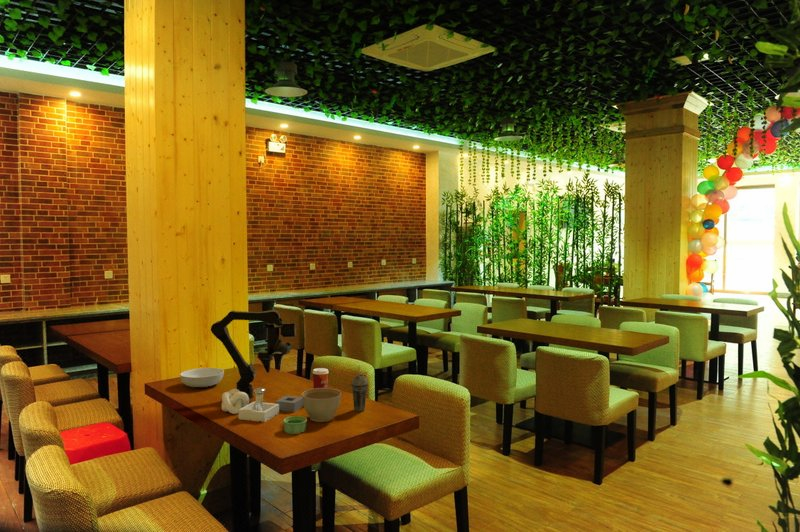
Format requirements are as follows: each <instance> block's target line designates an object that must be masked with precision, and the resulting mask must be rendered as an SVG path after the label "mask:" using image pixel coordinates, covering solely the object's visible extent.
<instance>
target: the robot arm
mask: <svg viewBox="0 0 800 532" xmlns="http://www.w3.org/2000/svg"><path fill="white" fill-rule="evenodd" d="M233 321H257V322H258V321H259V322H263V323H265V324H264V325H263V326H262V328H263V329H266V339H264V342H265V343H266V348H264V350H262V351H259V352H258V353H257V359H258V360H259V361H260V362H261V364H262V366H263V367H264V369H265V371H266V373H268V374H269V373H270V371H271V370H270V369H271V362H272V361H273V360H274V364H275V368H276V369H279V368H280V366H281V362H282V359H283V357H284V356H285V355H287V354H290V352H291V350H293V347H292V342H290V341H287V342H286V343H285V342H282V339H281V338H280V335H281V336H282V338H296V332H297V331H296V322H284V320H283V319H282V318H281V314H280V312H279V311H278V310H276V309H269V310H264V311H242V310H241V311H239V310H238V311H237V310H230V311H229V312H228V313H227V314H226V315H225V316H224V317H223V318H222V319H221V320H217V321H215V322H214V323H213V324H212V325H211V327H210V331H211V334H213V336H214V337H215V338H216V339H217V340H219V341H220V342H221V343H222V345H223V347H224V348H225V349H226V351H227V352H228V354H229V356H230V357H231V359H232V360H233V362H234V364H235V365H236V367H237V369H238V374H239V379H238V380H237V382H236V389H238V390H239V391H240V392H244V393H246V394H247V395H248V397H249V400H251V399H253V398H254V397H255V396H254V388H253V385H252V384H251V383H252V382H253V381H254V380H255V378H256V376H257V372H256V371H257V369H256V368H255V367H254V365H253V363H252V362H250V363H248V362H247V361H246V359H245V358H244V357H243V355H242V354H241V352H240V350H239V349H238V348H237V345H236V344H235V342H234V340H232V337H231V335H230V332H229V328H228V325H229V324H231V323H232V322H233Z"/></svg>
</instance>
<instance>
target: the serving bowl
mask: <svg viewBox="0 0 800 532" xmlns="http://www.w3.org/2000/svg"><path fill="white" fill-rule="evenodd" d="M224 374H225V370H224V369H222V368H219V367H218V368H217V367H200V368H193V369H188V370H184V371H182V372H181V373H180V374H179V376H180V377H179V378H180V381H181V382H182V383H183V384H184V385H186V386H187V387H190V388H195V387H205V388H208V386H209V387H211V386H214V385H217V384H218V383H220V382H221V381H222V379H223V377H224Z"/></svg>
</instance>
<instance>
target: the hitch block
mask: <svg viewBox="0 0 800 532" xmlns="http://www.w3.org/2000/svg"><path fill="white" fill-rule="evenodd" d="M275 404H279V410H282V411H281V412H288V411H291V412H290V413H296V412H298V411H299V410H300V409H302V408H304V406H303V399H302V396H292V395H284V396H282V397H281V398H278V399H277V400H275ZM301 407H302V408H301ZM298 409H299V410H298ZM295 411H296V412H295Z"/></svg>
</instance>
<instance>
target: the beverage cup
mask: <svg viewBox="0 0 800 532" xmlns="http://www.w3.org/2000/svg"><path fill="white" fill-rule="evenodd" d="M357 367H358V368H357V369H358V374H357V375H355V376H354V377H353V379H352V381H351V389H352V398H353V399H352V402H353V410H354V412H356V411H359V412H358V413H361V412H360V411H363V412H365V408H366V401H367V400H366V398H367V389H368V387H369V386H368V385H369V382H368V380H367V378H366V376H365V375H362V374H360V373H361V372H360V365H358V366H357Z"/></svg>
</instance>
